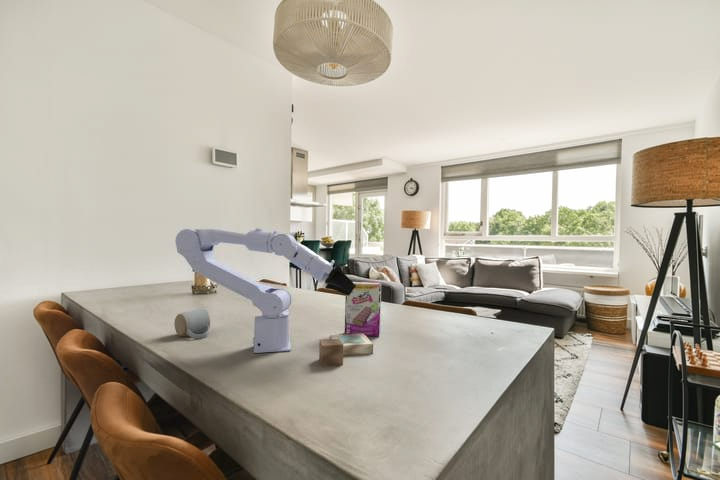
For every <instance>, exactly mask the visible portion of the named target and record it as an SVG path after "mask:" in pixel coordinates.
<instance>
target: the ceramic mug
mask: <svg viewBox="0 0 720 480" xmlns="http://www.w3.org/2000/svg"><path fill="white" fill-rule="evenodd" d="M207 310H208V309H206V308H205V307H201V308H196V309H192V310H188V311H184V312H181V313H178V314H176V316H175V319H174V323H173V324H174V331H175V332H176V334H177V335H178V336H179V337H182V338H183V337H190V338H192V339H197V340H201V339H204V338H205V339H206V337H208V335H209V333H210V328H211V318H210V314H209V311H207Z"/></svg>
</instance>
